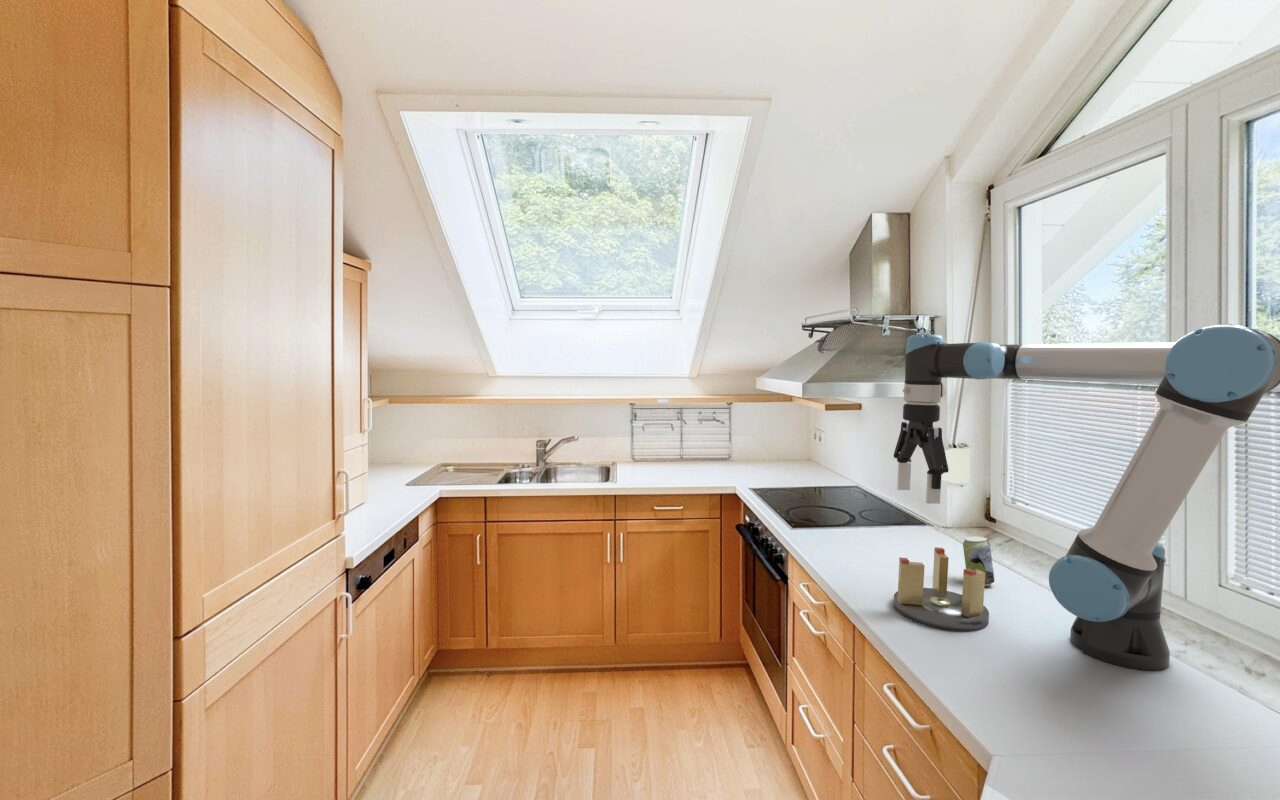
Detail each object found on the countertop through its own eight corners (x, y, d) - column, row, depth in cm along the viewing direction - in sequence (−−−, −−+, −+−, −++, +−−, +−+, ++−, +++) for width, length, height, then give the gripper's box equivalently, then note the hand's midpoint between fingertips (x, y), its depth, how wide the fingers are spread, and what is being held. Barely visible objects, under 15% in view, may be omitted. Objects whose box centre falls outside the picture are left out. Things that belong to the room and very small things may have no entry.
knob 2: (946, 596, 136) (948, 554, 135) (938, 595, 136) (940, 553, 136) (940, 588, 141) (942, 547, 140) (932, 587, 141) (934, 547, 141)
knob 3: (974, 610, 129) (977, 565, 128) (982, 613, 127) (985, 568, 126) (961, 614, 126) (963, 569, 126) (969, 617, 125) (971, 572, 124)
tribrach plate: (1007, 620, 129) (1007, 607, 129) (953, 639, 120) (954, 625, 119) (927, 590, 145) (928, 578, 145) (875, 604, 136) (876, 592, 136)
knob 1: (920, 602, 132) (922, 559, 132) (922, 605, 131) (924, 561, 130) (897, 600, 133) (899, 557, 133) (899, 603, 131) (901, 560, 131)
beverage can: (998, 589, 147) (1000, 542, 146) (965, 587, 148) (968, 540, 147) (988, 580, 153) (991, 535, 152) (957, 578, 154) (960, 533, 153)
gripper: (881, 399, 146) (878, 484, 147) (933, 407, 121) (929, 509, 122) (911, 400, 146) (907, 485, 147) (969, 407, 121) (964, 509, 123)
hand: (917, 496), depth 135 cm, fingers open, 13 cm apart
